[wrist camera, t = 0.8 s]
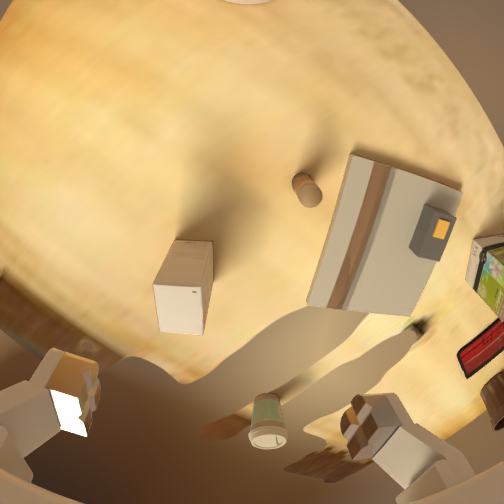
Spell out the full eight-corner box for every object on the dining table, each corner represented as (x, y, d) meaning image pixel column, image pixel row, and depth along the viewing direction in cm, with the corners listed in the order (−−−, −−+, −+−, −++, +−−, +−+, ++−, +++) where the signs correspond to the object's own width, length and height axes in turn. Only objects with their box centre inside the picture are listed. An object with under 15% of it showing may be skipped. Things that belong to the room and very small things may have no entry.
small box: (173, 239, 48) (151, 283, 36) (213, 240, 48) (202, 286, 36) (176, 282, 52) (159, 332, 40) (213, 284, 52) (204, 336, 40)
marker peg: (294, 171, 43) (302, 182, 37) (314, 175, 44) (325, 187, 37) (289, 190, 45) (296, 205, 38) (309, 194, 45) (319, 209, 39)
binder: (519, 337, 60) (467, 380, 66) (515, 332, 62) (464, 375, 68) (515, 305, 55) (456, 355, 62) (510, 301, 57) (452, 349, 64)
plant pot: (475, 385, 71) (495, 421, 57) (512, 358, 68) (534, 391, 53) (474, 404, 78) (491, 437, 63) (508, 381, 74) (526, 411, 59)
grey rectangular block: (424, 203, 44) (435, 211, 40) (445, 210, 44) (457, 218, 41) (408, 247, 47) (418, 257, 44) (429, 252, 48) (440, 262, 44)
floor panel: (349, 153, 42) (352, 155, 41) (457, 190, 44) (462, 192, 43) (305, 300, 53) (307, 305, 52) (407, 312, 55) (409, 316, 54)
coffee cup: (274, 412, 69) (277, 452, 58) (242, 404, 67) (242, 446, 57) (291, 394, 66) (296, 436, 55) (258, 385, 64) (259, 430, 53)
